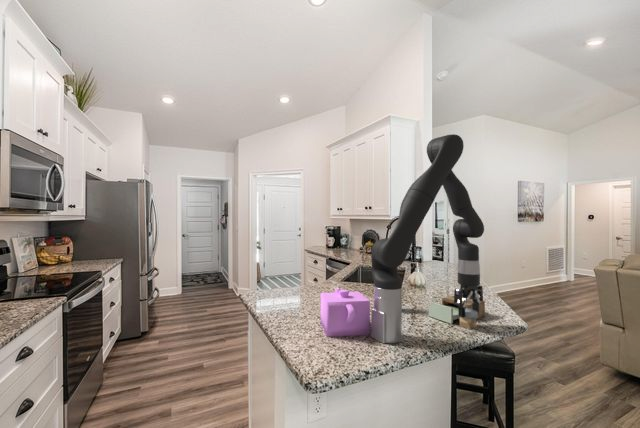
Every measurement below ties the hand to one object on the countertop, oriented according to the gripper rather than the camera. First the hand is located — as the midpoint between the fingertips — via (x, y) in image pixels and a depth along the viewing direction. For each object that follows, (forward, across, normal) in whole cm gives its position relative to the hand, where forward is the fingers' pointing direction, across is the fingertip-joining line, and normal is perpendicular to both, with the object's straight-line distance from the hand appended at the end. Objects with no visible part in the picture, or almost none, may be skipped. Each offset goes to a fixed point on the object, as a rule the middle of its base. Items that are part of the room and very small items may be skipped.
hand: (469, 314), depth 108 cm
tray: (+4, +2, +10) cm, 11 cm away
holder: (+4, +11, +10) cm, 16 cm away
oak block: (+4, 0, 0) cm, 4 cm away
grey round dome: (0, 0, 0) cm, 1 cm away
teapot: (+4, -42, +22) cm, 48 cm away
